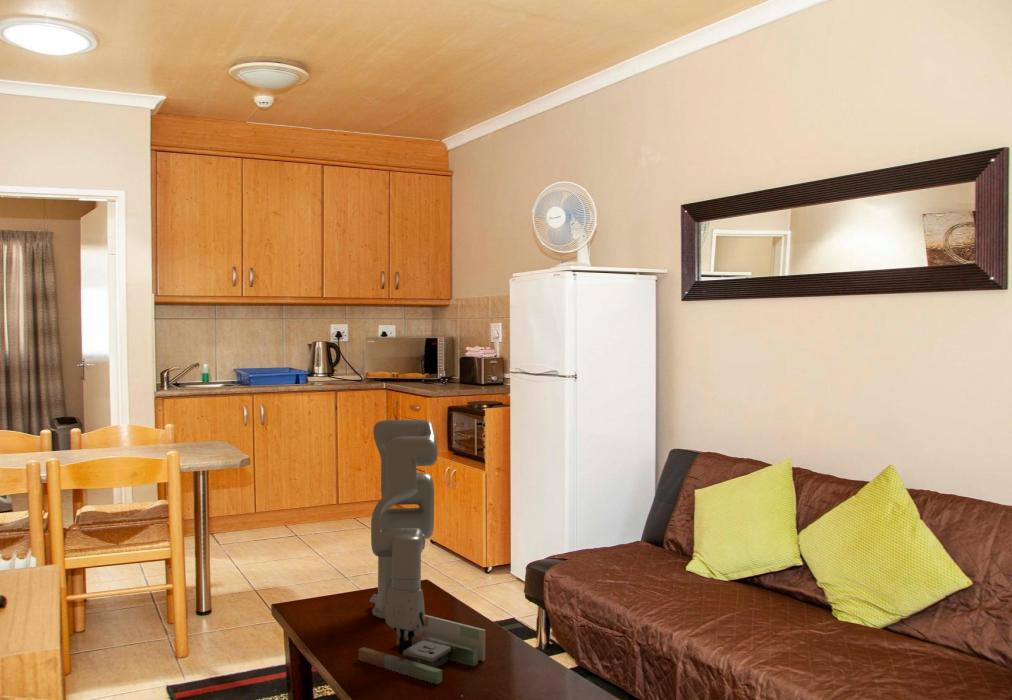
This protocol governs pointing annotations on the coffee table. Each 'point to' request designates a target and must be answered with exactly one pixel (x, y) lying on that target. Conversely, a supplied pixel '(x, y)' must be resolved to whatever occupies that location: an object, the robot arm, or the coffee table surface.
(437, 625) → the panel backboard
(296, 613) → the coffee table surface
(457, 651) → the far rail
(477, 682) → the coffee table surface
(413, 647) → the electrical switch
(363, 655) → the near rail
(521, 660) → the coffee table surface
